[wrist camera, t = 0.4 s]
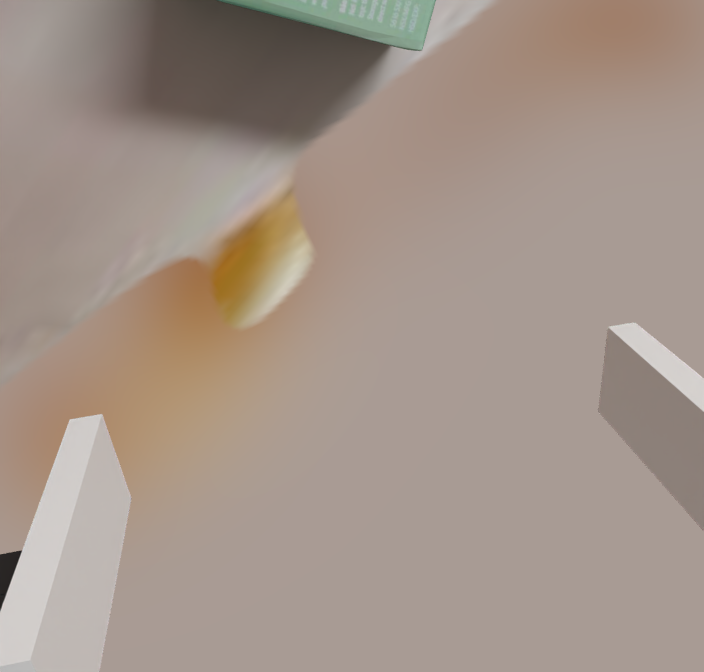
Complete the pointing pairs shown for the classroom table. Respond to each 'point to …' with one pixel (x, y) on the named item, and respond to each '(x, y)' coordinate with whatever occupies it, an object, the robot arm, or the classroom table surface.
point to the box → (357, 17)
